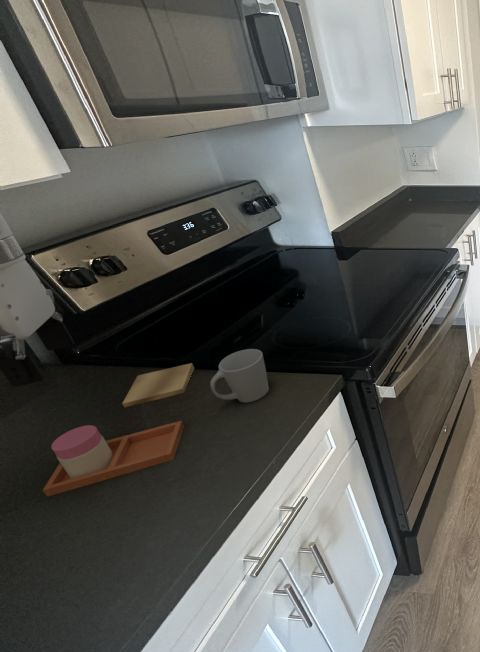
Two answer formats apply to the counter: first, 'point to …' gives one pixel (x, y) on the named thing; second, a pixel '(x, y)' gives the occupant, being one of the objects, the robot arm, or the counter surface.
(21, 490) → the counter surface
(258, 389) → the cup
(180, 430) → the divided tray
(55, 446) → the pink lidded jar
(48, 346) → the robot arm
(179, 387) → the board
